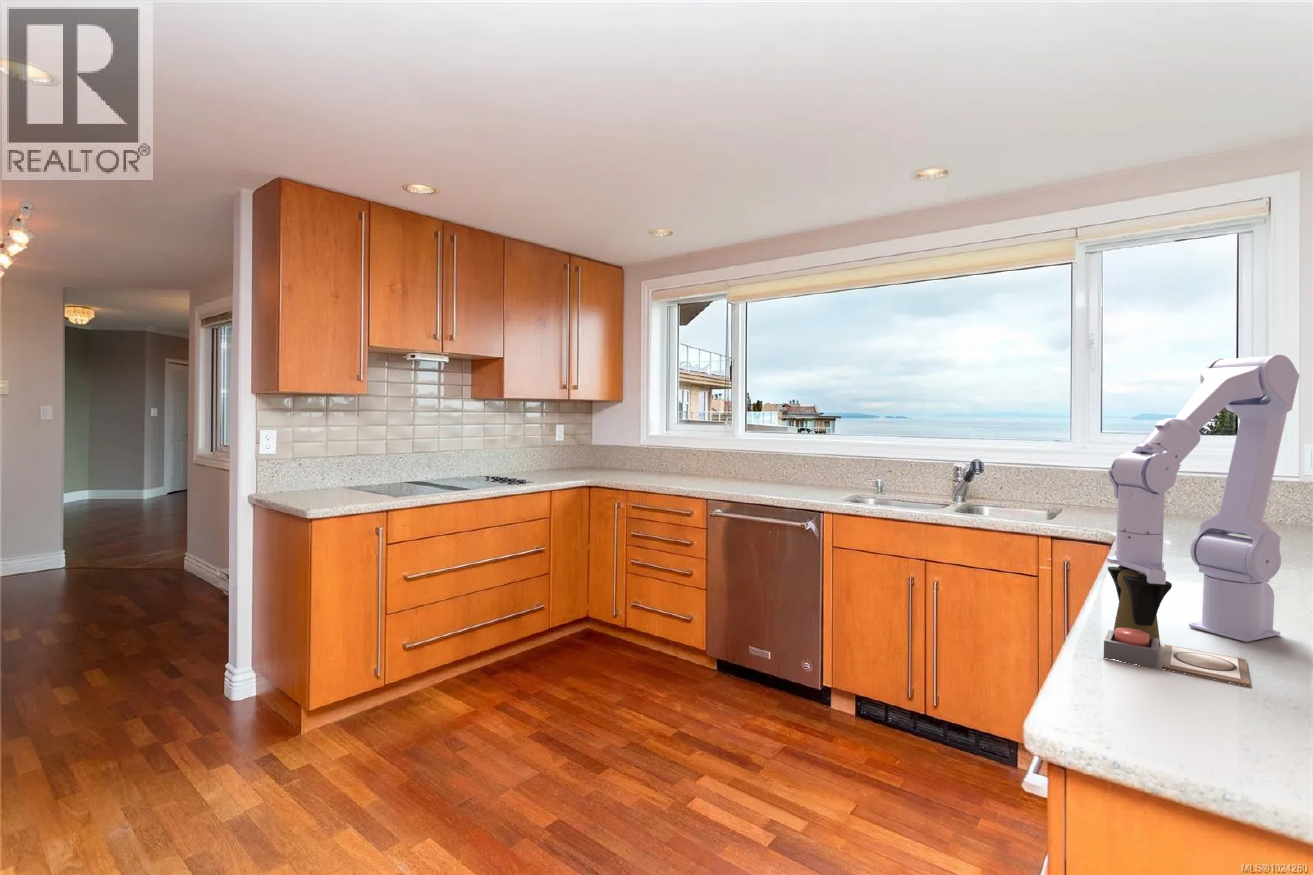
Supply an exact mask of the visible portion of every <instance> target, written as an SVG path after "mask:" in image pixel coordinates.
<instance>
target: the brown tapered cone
mask: <svg viewBox="0 0 1313 875" xmlns="http://www.w3.org/2000/svg"><path fill="white" fill-rule="evenodd" d="M1123 576H1132V577H1138V578H1139V572H1138V571H1136V570H1133V569H1125V570H1122V571H1120V573H1119V574H1118V577H1117V582H1118V586H1119V587H1120V588H1121V595H1120V600H1119V599H1118V606H1117V611H1116V616H1115V620H1114V626H1113V630H1112V631H1115V629H1116V628H1132V629H1137V630H1141V631H1144V632H1146V633H1148V634H1149V637H1151V638H1156V639H1159V646H1160V647H1161V640H1160V631H1159V622H1158V613H1157V614H1156V617H1155V620H1154V623H1153V625H1152V626H1147V625H1137V624H1135V622H1134V619H1133V613H1132V604H1131V598H1130V594H1129V591H1128V588H1127V586H1126V584H1125V582H1124V580H1123Z"/></svg>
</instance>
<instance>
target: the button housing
mask: <svg viewBox="0 0 1313 875" xmlns="http://www.w3.org/2000/svg"><path fill="white" fill-rule="evenodd" d="M1159 648H1160V647H1159V639H1156V638H1151V637H1149V647H1143V646H1137V645H1132V644H1127V643H1121V642H1116V641H1115V631H1113V630H1111V629H1108V631H1107V632H1106V635H1105V637H1104V640H1103V659H1104V658H1108V659H1115V660H1119V661H1122V662H1121V663H1123V662H1126V663H1125V664H1128V663H1129V664H1128V665H1133V664H1137V665H1136V666H1138V665H1140V666H1139V667H1142V666H1143V668H1147V667H1148V668H1147V669H1152V668H1155V669H1154V670H1157V667H1158V660H1159V652H1160V650H1159ZM1108 659H1107V660H1108Z"/></svg>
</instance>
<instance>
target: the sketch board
mask: <svg viewBox="0 0 1313 875" xmlns="http://www.w3.org/2000/svg"><path fill="white" fill-rule="evenodd" d="M1163 669H1165V670H1164V671H1168V670H1170V671H1169V672H1173V671H1175V672H1174V673H1179V674H1183V673H1186V674H1185V675H1188V674H1190V675H1189V676H1192V675H1194V676H1193V677H1197V676H1198V678H1203V679H1207V678H1209V679H1208V680H1212V679H1215V680H1214V681H1217V680H1218V681H1217V682H1222V681H1223V682H1222V683H1227V682H1231V683H1230V684H1232V683H1235V684H1234V685H1237V684H1240V685H1239V686H1242V685H1246V686H1245V687H1247V686H1249V687H1248V688H1251V681H1250V676H1249V669H1248V666H1247V660H1246V659H1245V658H1242V657H1241V658H1240V657H1234V656H1229V655H1223V654H1217V653H1213V652H1208V651H1207V652H1206V651H1202V650H1195V649H1191V648H1186V647H1180V646H1175V645H1169V644H1164V649H1163V656H1162V662H1161V670H1163Z"/></svg>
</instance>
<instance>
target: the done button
mask: <svg viewBox="0 0 1313 875" xmlns="http://www.w3.org/2000/svg"><path fill="white" fill-rule="evenodd" d="M1115 641H1116V642H1121V643H1127V644H1132V645H1137V646H1143V647H1149V634H1148V633H1146V632H1144V631H1141V630H1137V629H1132V628H1116V629H1115Z"/></svg>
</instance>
